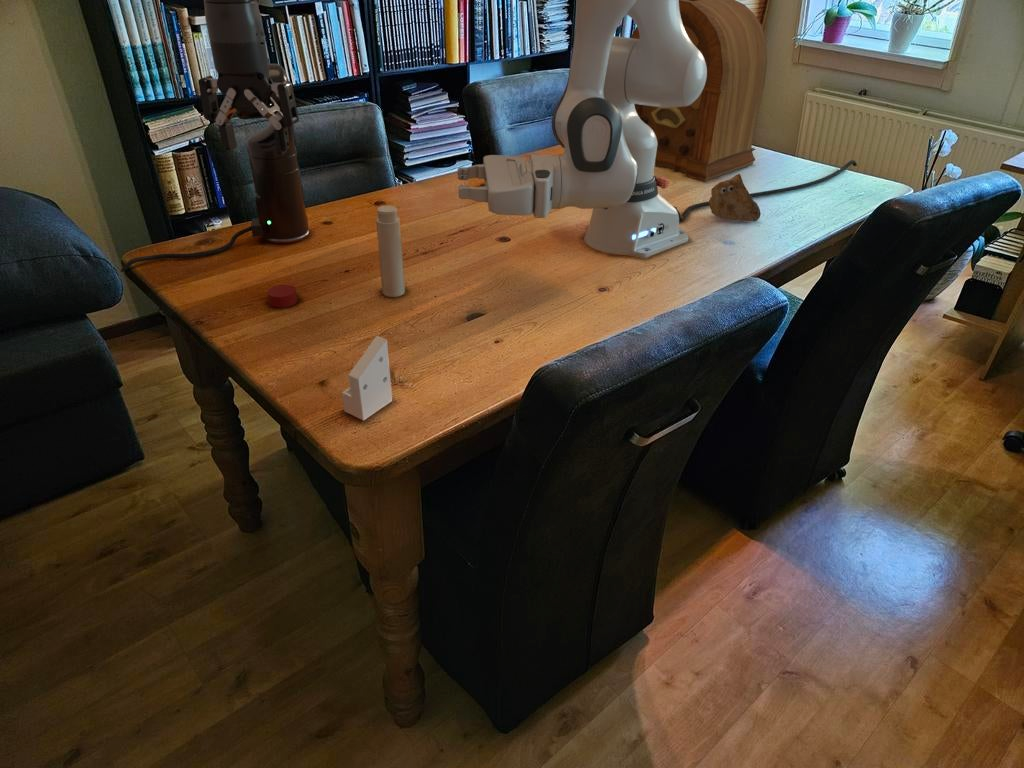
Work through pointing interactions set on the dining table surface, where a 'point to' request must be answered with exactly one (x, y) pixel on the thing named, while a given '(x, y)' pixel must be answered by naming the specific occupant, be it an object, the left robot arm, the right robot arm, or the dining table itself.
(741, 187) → the decorative rock
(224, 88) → the left robot arm
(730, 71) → the radio
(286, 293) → the lid
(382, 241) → the bottle
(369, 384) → the white angled block
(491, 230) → the dining table surface
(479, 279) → the dining table surface
